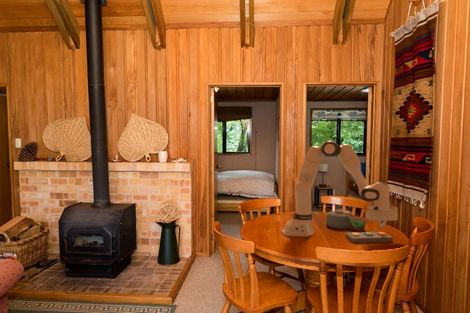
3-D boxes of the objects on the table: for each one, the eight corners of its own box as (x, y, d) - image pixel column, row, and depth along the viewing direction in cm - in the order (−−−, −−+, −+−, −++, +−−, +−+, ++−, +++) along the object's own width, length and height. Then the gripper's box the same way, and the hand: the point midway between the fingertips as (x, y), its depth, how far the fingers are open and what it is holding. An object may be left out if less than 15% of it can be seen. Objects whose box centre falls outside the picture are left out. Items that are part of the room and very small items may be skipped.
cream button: (353, 237, 194) (353, 234, 194) (351, 235, 198) (351, 232, 198) (359, 237, 194) (359, 234, 194) (356, 235, 198) (356, 232, 198)
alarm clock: (358, 227, 226) (358, 211, 225) (339, 230, 217) (339, 214, 216) (339, 221, 243) (339, 206, 242) (321, 224, 234) (321, 209, 234)
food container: (348, 230, 216) (348, 217, 215) (348, 228, 222) (348, 215, 221) (367, 232, 211) (367, 218, 211) (366, 230, 217) (366, 216, 217)
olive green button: (367, 237, 194) (367, 234, 194) (364, 235, 198) (364, 232, 198) (373, 236, 194) (373, 234, 194) (370, 235, 198) (370, 232, 198)
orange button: (380, 236, 195) (380, 233, 194) (377, 234, 199) (377, 232, 198) (386, 236, 195) (386, 233, 195) (383, 234, 199) (383, 231, 199)
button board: (353, 242, 190) (353, 238, 190) (345, 237, 202) (345, 232, 202) (392, 241, 191) (392, 237, 191) (382, 236, 203) (382, 231, 203)
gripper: (394, 205, 199) (394, 225, 200) (365, 205, 198) (364, 226, 199) (400, 207, 193) (399, 227, 194) (369, 207, 192) (369, 228, 193)
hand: (381, 226), depth 196 cm, fingers closed
